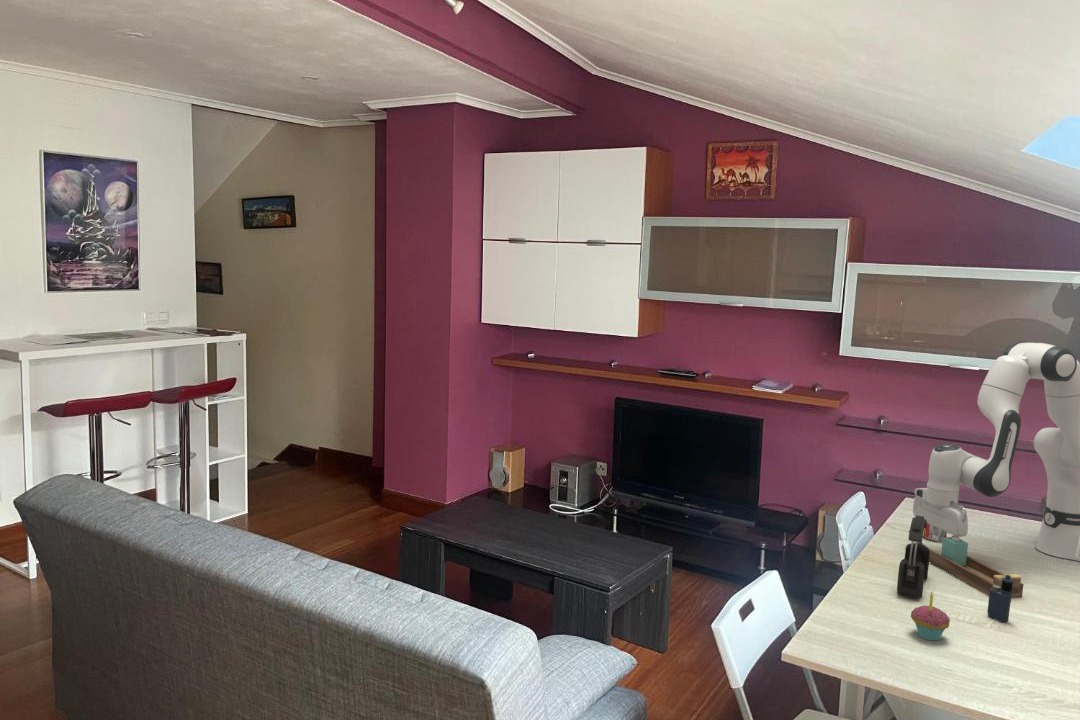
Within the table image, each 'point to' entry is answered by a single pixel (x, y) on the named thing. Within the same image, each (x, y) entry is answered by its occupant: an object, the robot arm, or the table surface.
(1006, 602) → the vaping device
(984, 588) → the rail
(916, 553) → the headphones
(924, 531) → the soda can
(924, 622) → the cupcake
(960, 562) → the block
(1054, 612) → the table surface
